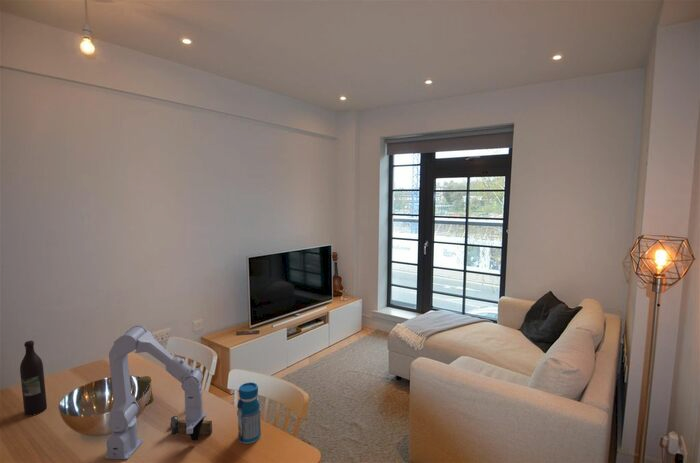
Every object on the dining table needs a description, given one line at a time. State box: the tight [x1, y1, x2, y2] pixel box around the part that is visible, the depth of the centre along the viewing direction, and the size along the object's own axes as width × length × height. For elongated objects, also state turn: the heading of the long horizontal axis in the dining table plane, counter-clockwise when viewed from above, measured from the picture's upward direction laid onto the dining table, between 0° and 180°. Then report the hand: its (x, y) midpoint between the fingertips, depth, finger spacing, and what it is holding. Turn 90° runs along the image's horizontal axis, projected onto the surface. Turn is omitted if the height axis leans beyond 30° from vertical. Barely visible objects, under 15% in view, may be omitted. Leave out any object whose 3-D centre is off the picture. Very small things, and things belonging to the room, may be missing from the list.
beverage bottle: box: [236, 382, 262, 445], centre depth 135 cm, size 8×8×20 cm
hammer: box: [169, 415, 179, 436], centre depth 148 cm, size 22×4×6 cm, turn 178°
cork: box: [137, 375, 154, 405], centre depth 158 cm, size 6×6×11 cm
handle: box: [177, 419, 213, 435], centre depth 138 cm, size 13×2×5 cm, turn 88°
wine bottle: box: [19, 340, 48, 416], centre depth 149 cm, size 7×7×30 cm
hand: (195, 439), depth 133 cm, fingers closed
